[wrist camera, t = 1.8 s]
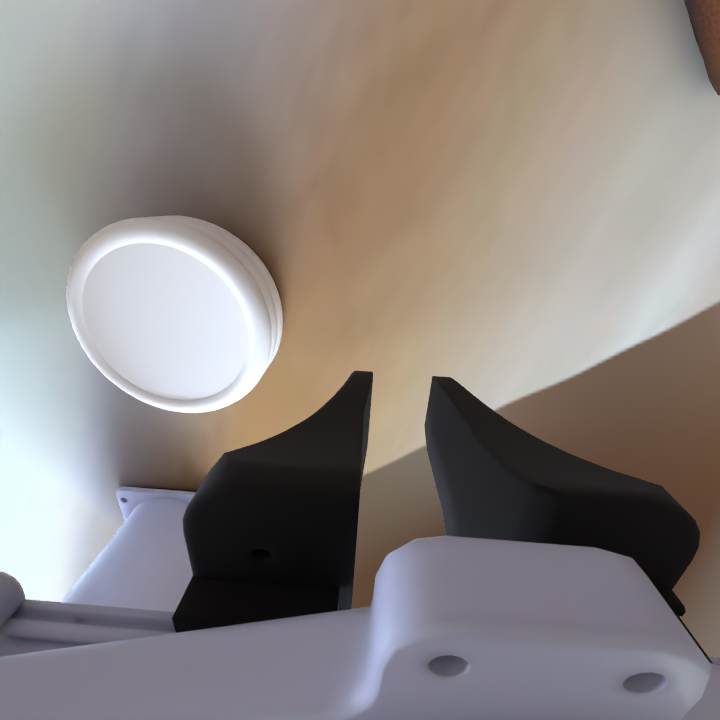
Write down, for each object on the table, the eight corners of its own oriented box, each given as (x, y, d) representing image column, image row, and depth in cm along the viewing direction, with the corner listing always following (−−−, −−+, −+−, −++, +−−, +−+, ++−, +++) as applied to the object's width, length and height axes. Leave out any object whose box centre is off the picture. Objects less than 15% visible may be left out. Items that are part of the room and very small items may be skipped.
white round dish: (98, 198, 18) (36, 198, 14) (292, 233, 18) (274, 240, 15) (122, 371, 22) (78, 400, 19) (279, 397, 22) (263, 431, 19)
